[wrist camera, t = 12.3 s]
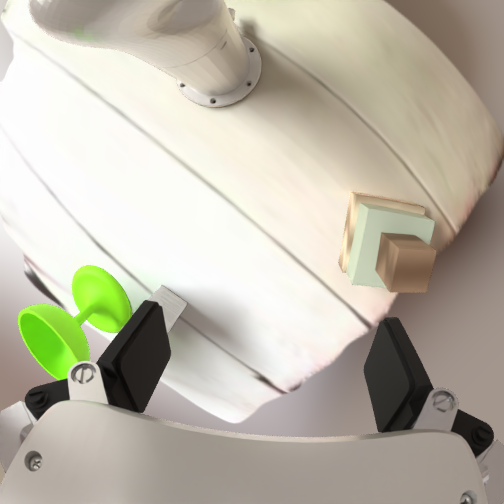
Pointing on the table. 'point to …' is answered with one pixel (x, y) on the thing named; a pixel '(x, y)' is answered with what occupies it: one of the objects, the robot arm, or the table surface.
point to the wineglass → (74, 321)
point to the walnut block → (404, 262)
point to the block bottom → (353, 213)
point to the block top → (368, 239)
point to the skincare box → (168, 305)
